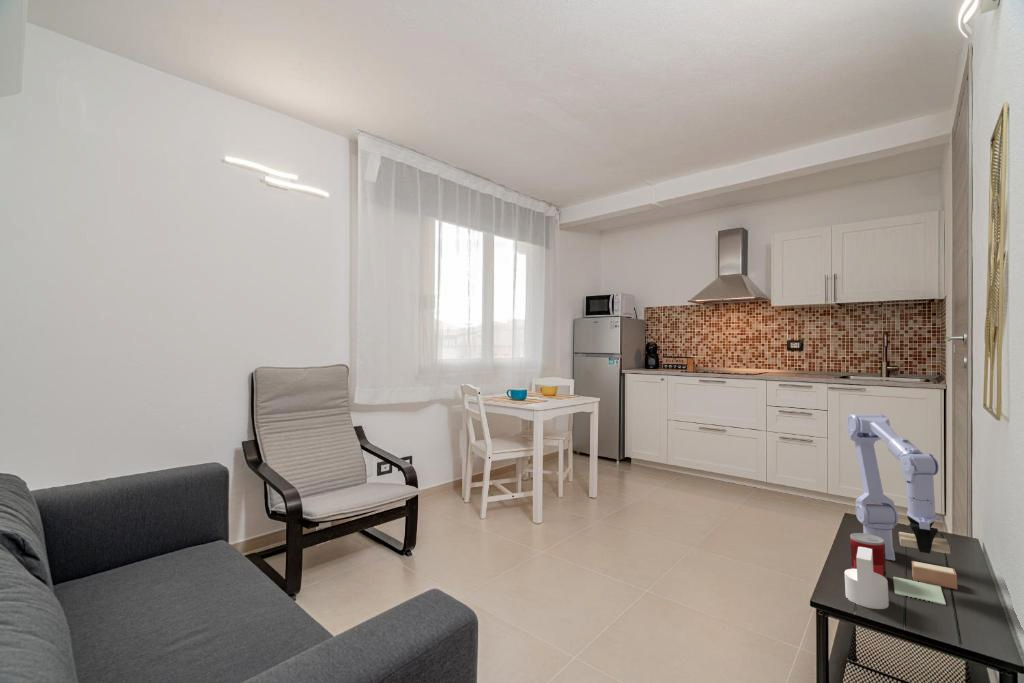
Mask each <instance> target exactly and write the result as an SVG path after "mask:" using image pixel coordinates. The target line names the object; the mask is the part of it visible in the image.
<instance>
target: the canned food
mask: <svg viewBox="0 0 1024 683" xmlns="http://www.w3.org/2000/svg"><path fill="white" fill-rule="evenodd" d="M849 543H850V545H849V546H850V565H851V569H857V561H856V556H857V551H858V547H865V548H870V549H872V554H873V572H875V573H877V574H880V575H882V576H883V577H885V578H886V579H887V561H886V560H887V559H886V556H885V542H884V540H883V539H882V538H880V537H878V536H875V535H871V534H865V533H863V532H853V533H851V534H850V535H849Z"/></svg>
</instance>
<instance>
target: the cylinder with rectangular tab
mask: <svg viewBox="0 0 1024 683" xmlns="http://www.w3.org/2000/svg"><path fill="white" fill-rule="evenodd" d="M856 561H857V569H852V568H847V569H845V570H844V586H845V587H844V588H845V589H844V591H845V597H846V599H847V598H848V599H847V600H848V601H850V602H852V603H853V602H854V604H855V603H856V604H855V605H857V606H860V605H861V607H864V608H868V609H872V610H873V609H875V610H884V609H888V607H889V606H890V603H889V602H890V601H889V585H888V583H889V582H888V579H887V577H886V578H885V577H883V576H882V575H880V574H877V573H875V572H873V554H872V549H870V548H865V547H858V551H857V556H856Z"/></svg>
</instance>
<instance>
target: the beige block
mask: <svg viewBox="0 0 1024 683" xmlns="http://www.w3.org/2000/svg"><path fill="white" fill-rule="evenodd" d="M898 540H899V544H900V546H901V547H907V548H912V549H917V550H919V548H918V545H917V540H916V537H915V534H914V533H909V532H903V531H898ZM931 552H938V553H942V554H948V555H950V554H951V547H950V543H949V542H948V540H947V539H946V538H941V537H936V536H935V537H934V539H933V542H932V548H931Z"/></svg>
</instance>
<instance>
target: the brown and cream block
mask: <svg viewBox="0 0 1024 683" xmlns="http://www.w3.org/2000/svg"><path fill="white" fill-rule="evenodd" d="M911 574H912V575H911V576H912V579H913V580H912V581H917V582H918V581H919V582H922V583H927V584H931V585H936V586H940V587H944V588H947V589H954V590H958V576H957V572H956V571H955V568H951V567H946V566H941V565H935V564H930V563H924V562H919V561H915V560H911Z"/></svg>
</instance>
